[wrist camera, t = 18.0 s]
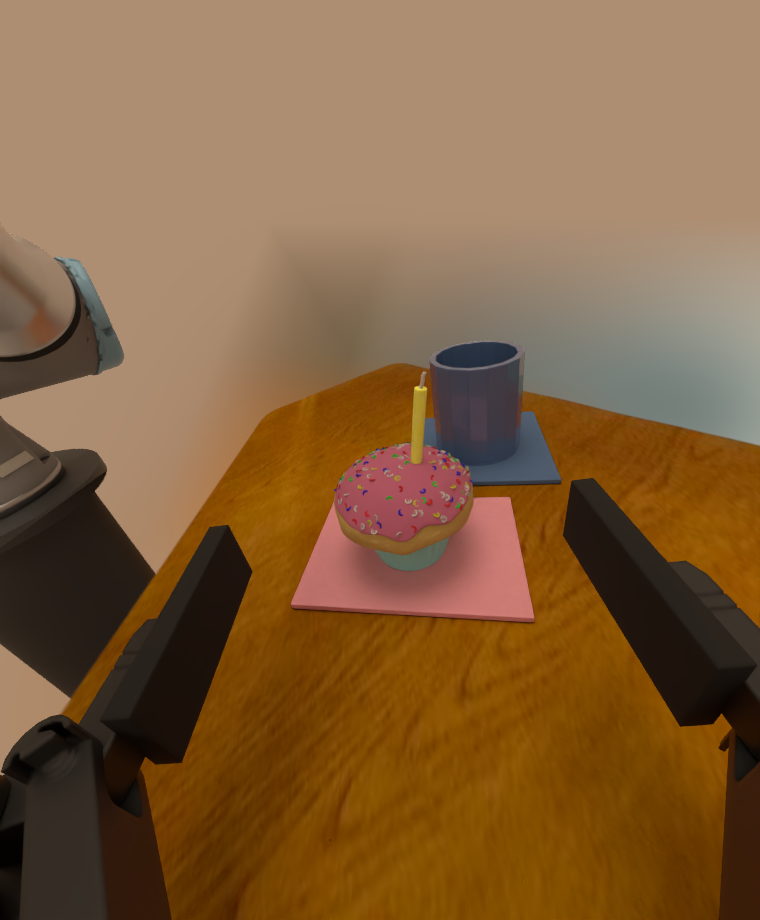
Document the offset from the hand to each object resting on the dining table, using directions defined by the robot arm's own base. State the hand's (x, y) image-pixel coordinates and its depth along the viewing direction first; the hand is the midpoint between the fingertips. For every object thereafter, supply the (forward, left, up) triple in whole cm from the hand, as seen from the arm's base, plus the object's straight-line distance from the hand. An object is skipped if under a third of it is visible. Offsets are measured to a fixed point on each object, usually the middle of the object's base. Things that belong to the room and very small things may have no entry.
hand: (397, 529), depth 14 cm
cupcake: (-1, +7, -9) cm, 11 cm away
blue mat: (+4, +20, -9) cm, 22 cm away
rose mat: (-1, +7, -9) cm, 11 cm away
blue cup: (+4, +20, -9) cm, 22 cm away
